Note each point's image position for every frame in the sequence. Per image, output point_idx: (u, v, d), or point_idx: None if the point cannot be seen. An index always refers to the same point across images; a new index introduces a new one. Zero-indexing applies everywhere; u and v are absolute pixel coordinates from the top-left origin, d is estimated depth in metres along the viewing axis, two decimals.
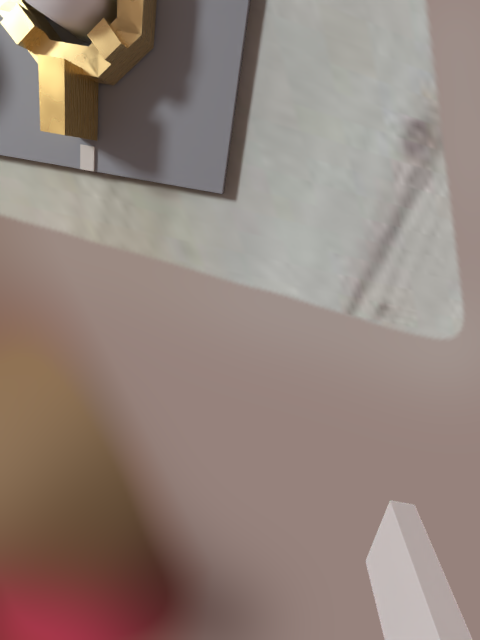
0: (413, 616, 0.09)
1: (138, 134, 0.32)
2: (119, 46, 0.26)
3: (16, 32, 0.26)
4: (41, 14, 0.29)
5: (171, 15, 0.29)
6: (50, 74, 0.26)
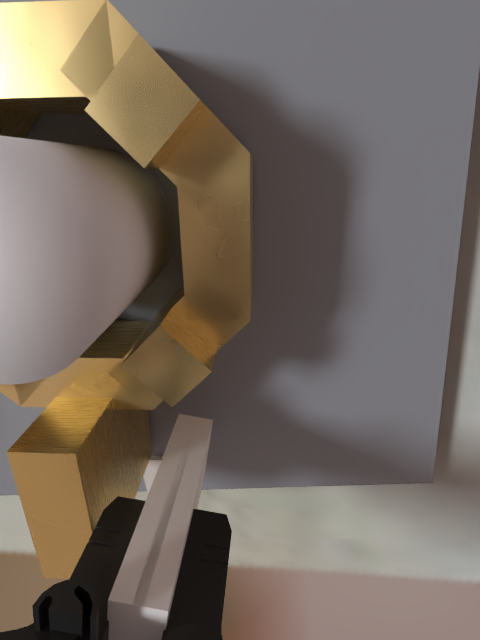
0: None
1: (248, 422, 0.16)
2: (207, 373, 0.10)
3: None
4: None
5: (286, 204, 0.13)
6: (46, 485, 0.10)
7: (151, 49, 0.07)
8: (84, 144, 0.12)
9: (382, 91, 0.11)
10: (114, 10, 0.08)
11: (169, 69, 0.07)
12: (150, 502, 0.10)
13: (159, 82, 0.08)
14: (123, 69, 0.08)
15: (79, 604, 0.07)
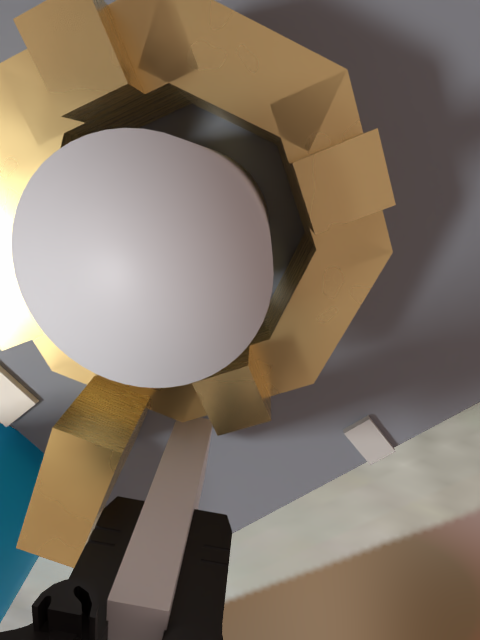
0: None
1: (432, 337, 0.14)
2: (263, 419, 0.11)
3: (6, 327, 0.10)
4: None
5: (352, 88, 0.11)
6: (74, 470, 0.10)
7: (380, 145, 0.08)
8: None
9: None
10: (348, 82, 0.08)
11: (385, 169, 0.08)
12: (149, 502, 0.10)
13: (370, 174, 0.08)
14: (346, 148, 0.08)
15: (78, 604, 0.07)
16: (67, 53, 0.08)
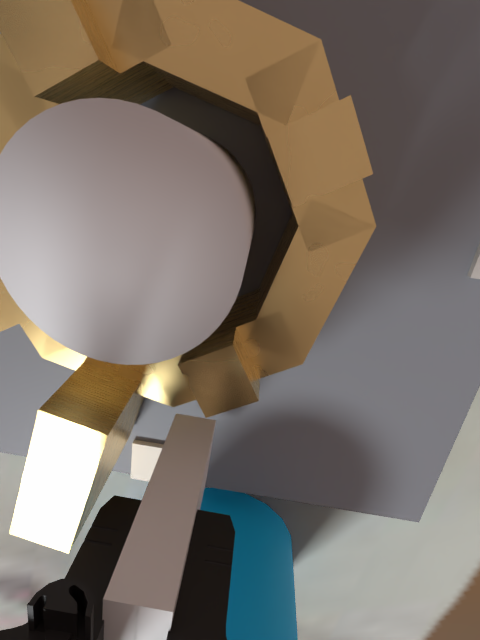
0: None
1: (475, 109, 0.11)
2: (251, 400, 0.11)
3: None
4: None
5: None
6: (61, 452, 0.10)
7: (354, 113, 0.08)
8: None
9: None
10: (323, 52, 0.08)
11: (361, 137, 0.08)
12: (146, 501, 0.10)
13: (346, 143, 0.08)
14: (320, 117, 0.08)
15: (74, 603, 0.07)
16: (37, 32, 0.08)
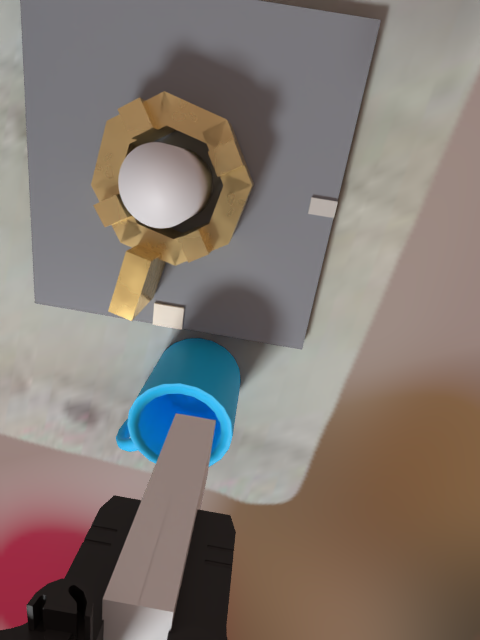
0: None
1: (301, 140, 0.28)
2: None
3: (107, 217, 0.26)
4: None
5: (187, 89, 0.27)
6: (133, 270, 0.26)
7: (235, 145, 0.24)
8: None
9: (149, 32, 0.26)
10: (228, 123, 0.25)
11: (238, 153, 0.24)
12: (146, 501, 0.10)
13: (233, 155, 0.24)
14: (224, 146, 0.24)
15: (73, 603, 0.07)
16: (133, 118, 0.24)
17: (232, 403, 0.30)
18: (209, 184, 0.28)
